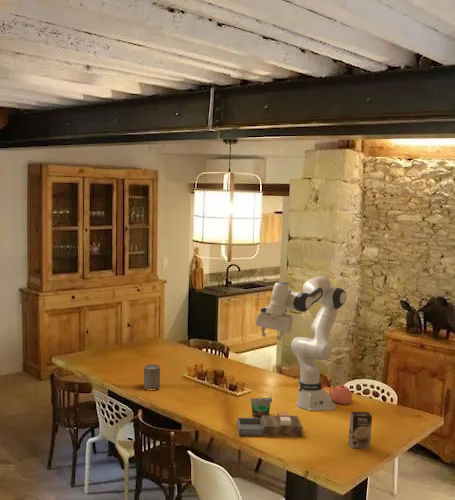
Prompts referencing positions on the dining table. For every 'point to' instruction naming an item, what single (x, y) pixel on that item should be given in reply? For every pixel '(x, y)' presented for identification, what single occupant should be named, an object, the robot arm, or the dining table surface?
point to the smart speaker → (152, 376)
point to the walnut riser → (281, 426)
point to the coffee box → (360, 430)
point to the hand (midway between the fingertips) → (270, 338)
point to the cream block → (285, 421)
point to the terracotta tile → (283, 414)
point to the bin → (250, 426)
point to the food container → (260, 406)
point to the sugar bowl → (340, 394)
